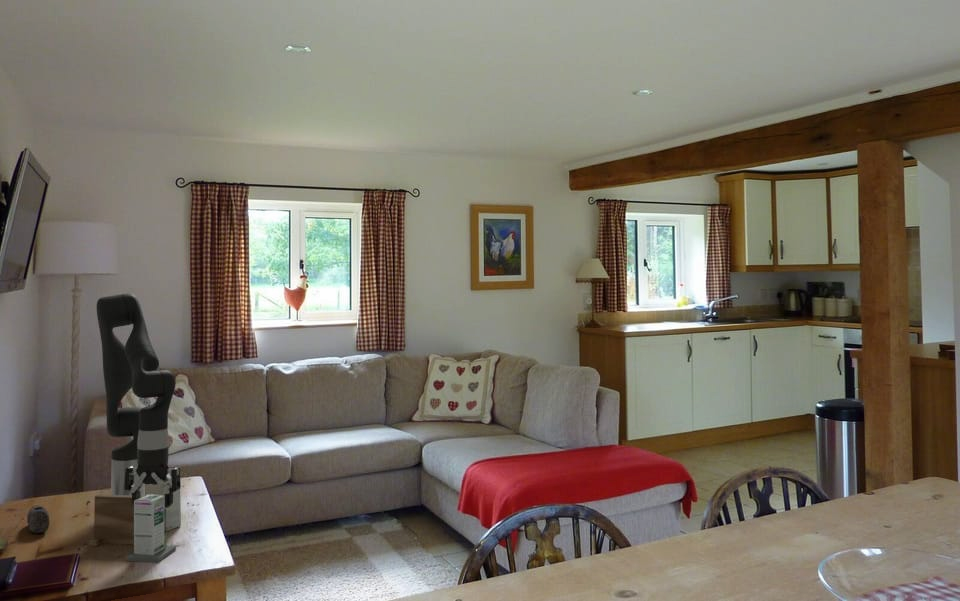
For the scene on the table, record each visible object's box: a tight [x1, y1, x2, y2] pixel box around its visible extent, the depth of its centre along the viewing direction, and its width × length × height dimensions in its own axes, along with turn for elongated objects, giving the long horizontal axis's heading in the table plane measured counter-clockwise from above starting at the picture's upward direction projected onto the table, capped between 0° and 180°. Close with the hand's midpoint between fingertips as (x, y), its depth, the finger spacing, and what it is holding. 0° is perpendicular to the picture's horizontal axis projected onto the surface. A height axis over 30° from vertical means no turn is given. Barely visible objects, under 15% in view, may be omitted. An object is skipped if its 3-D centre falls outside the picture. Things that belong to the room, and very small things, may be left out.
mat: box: [124, 545, 177, 563], centre depth 188 cm, size 9×9×1 cm
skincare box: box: [144, 473, 182, 532], centre depth 211 cm, size 8×7×16 cm
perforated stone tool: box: [26, 504, 51, 534], centre depth 208 cm, size 15×5×7 cm, turn 36°
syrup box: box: [133, 494, 167, 556], centre depth 188 cm, size 6×6×14 cm
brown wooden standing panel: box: [89, 493, 145, 547], centre depth 197 cm, size 6×18×13 cm, turn 86°
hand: (152, 506), depth 188 cm, fingers open, 8 cm apart
